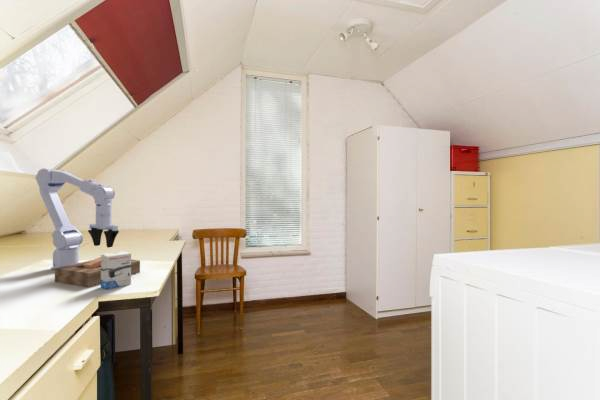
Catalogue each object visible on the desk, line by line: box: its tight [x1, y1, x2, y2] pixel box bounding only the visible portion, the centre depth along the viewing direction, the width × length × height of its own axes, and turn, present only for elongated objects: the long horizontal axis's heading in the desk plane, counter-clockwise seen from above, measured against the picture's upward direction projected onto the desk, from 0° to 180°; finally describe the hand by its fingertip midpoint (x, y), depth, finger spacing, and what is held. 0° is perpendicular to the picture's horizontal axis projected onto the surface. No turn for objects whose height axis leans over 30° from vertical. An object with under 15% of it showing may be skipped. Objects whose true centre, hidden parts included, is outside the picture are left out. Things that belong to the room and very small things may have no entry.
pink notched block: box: [83, 256, 101, 269], centre depth 123 cm, size 4×10×6 cm, turn 161°
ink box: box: [100, 250, 132, 290], centre depth 112 cm, size 8×5×12 cm, turn 143°
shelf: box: [54, 259, 141, 288], centre depth 123 cm, size 18×22×5 cm
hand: (103, 246), depth 132 cm, fingers open, 7 cm apart
